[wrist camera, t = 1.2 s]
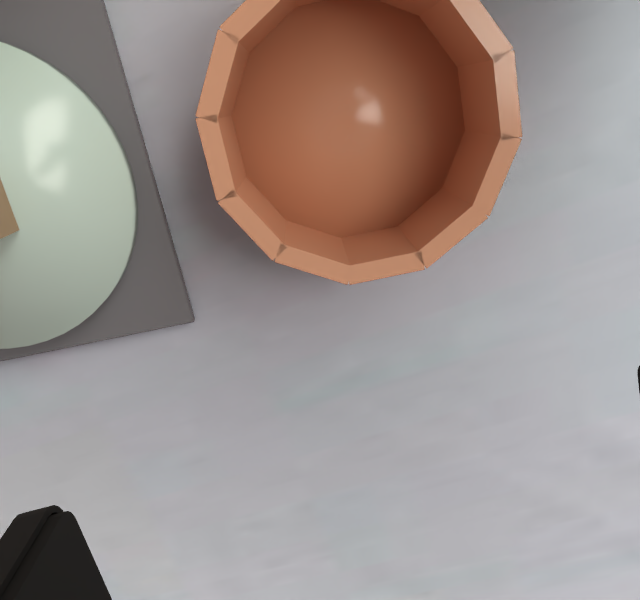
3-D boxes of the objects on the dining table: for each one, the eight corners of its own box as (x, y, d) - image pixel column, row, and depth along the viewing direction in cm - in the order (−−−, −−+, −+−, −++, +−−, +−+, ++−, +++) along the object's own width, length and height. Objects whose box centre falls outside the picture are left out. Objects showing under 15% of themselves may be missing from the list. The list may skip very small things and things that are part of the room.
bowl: (190, 12, 33) (161, -12, 26) (457, -47, 33) (501, -87, 26) (253, 268, 38) (243, 306, 31) (487, 219, 38) (532, 247, 31)
